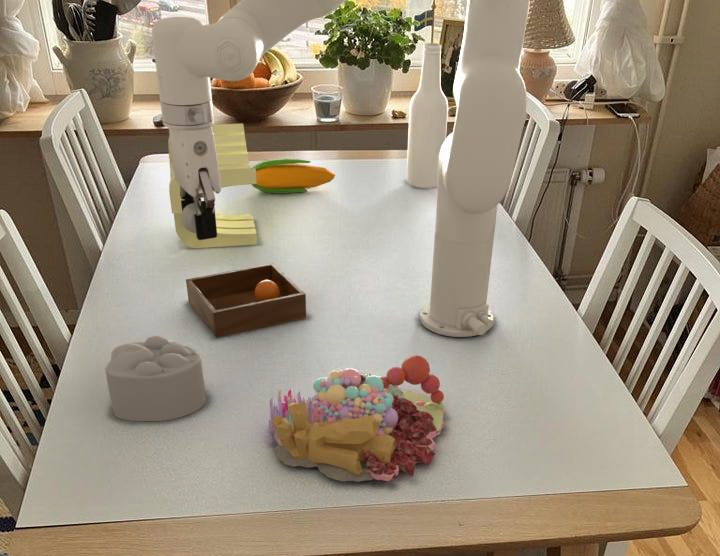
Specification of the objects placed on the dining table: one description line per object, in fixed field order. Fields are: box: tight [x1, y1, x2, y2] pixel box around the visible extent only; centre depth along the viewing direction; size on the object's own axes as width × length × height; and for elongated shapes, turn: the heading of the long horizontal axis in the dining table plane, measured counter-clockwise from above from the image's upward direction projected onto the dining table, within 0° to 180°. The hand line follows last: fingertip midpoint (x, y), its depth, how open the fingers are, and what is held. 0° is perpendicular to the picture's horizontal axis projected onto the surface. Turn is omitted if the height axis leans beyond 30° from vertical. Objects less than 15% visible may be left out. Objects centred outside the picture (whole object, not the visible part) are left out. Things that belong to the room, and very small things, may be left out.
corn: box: [250, 158, 336, 194], centre depth 195 cm, size 7×8×20 cm
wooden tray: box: [185, 262, 307, 338], centre depth 147 cm, size 14×16×4 cm
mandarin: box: [255, 280, 280, 302], centre depth 148 cm, size 4×4×4 cm
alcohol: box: [405, 42, 449, 189], centre depth 194 cm, size 9×9×30 cm
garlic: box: [182, 200, 203, 234], centre depth 135 cm, size 6×5×5 cm
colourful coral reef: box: [268, 354, 445, 483], centre depth 115 cm, size 25×24×9 cm
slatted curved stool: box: [167, 123, 259, 249], centre depth 170 cm, size 30×16×18 cm, turn 11°
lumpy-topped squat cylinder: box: [104, 335, 207, 422], centre depth 122 cm, size 10×13×9 cm
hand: (200, 229), depth 136 cm, fingers closed on garlic, 6 cm apart
